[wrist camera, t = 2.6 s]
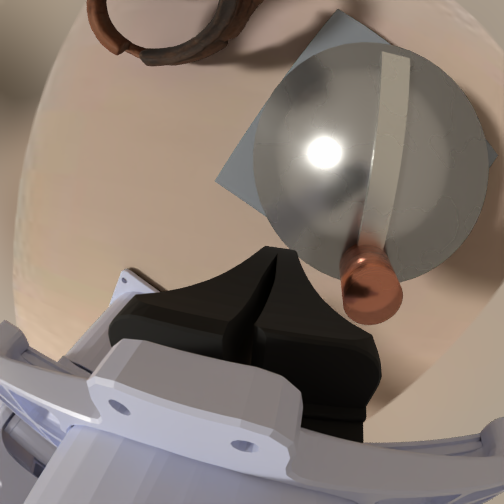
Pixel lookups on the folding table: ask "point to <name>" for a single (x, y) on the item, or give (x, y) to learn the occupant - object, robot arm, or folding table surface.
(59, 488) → the robot arm
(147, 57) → the brown curved ring
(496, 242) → the folding table surface
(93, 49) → the folding table surface
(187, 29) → the folding table surface
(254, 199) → the wheel base
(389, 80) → the handwheel
